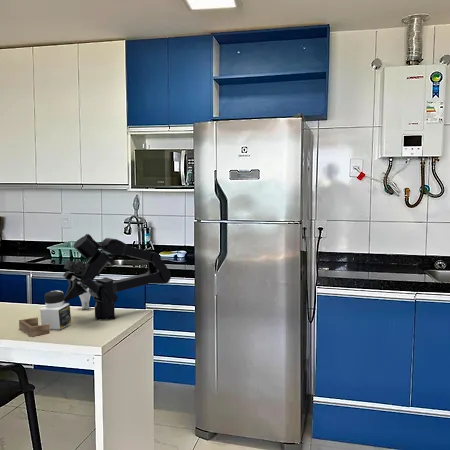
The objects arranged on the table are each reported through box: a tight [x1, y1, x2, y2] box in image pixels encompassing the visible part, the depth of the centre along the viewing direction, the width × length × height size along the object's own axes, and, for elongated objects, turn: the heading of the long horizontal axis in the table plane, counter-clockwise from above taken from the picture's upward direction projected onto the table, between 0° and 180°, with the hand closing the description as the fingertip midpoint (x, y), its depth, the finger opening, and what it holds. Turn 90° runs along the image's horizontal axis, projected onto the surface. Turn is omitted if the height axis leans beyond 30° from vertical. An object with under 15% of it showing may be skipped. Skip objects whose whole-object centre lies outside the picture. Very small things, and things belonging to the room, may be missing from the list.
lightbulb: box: [78, 288, 92, 310], centre depth 186 cm, size 6×6×11 cm
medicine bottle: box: [39, 290, 72, 331], centre depth 161 cm, size 7×7×12 cm
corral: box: [18, 316, 51, 338], centre depth 157 cm, size 6×12×3 cm, turn 40°
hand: (64, 301), depth 163 cm, fingers closed, pressing on medicine bottle
